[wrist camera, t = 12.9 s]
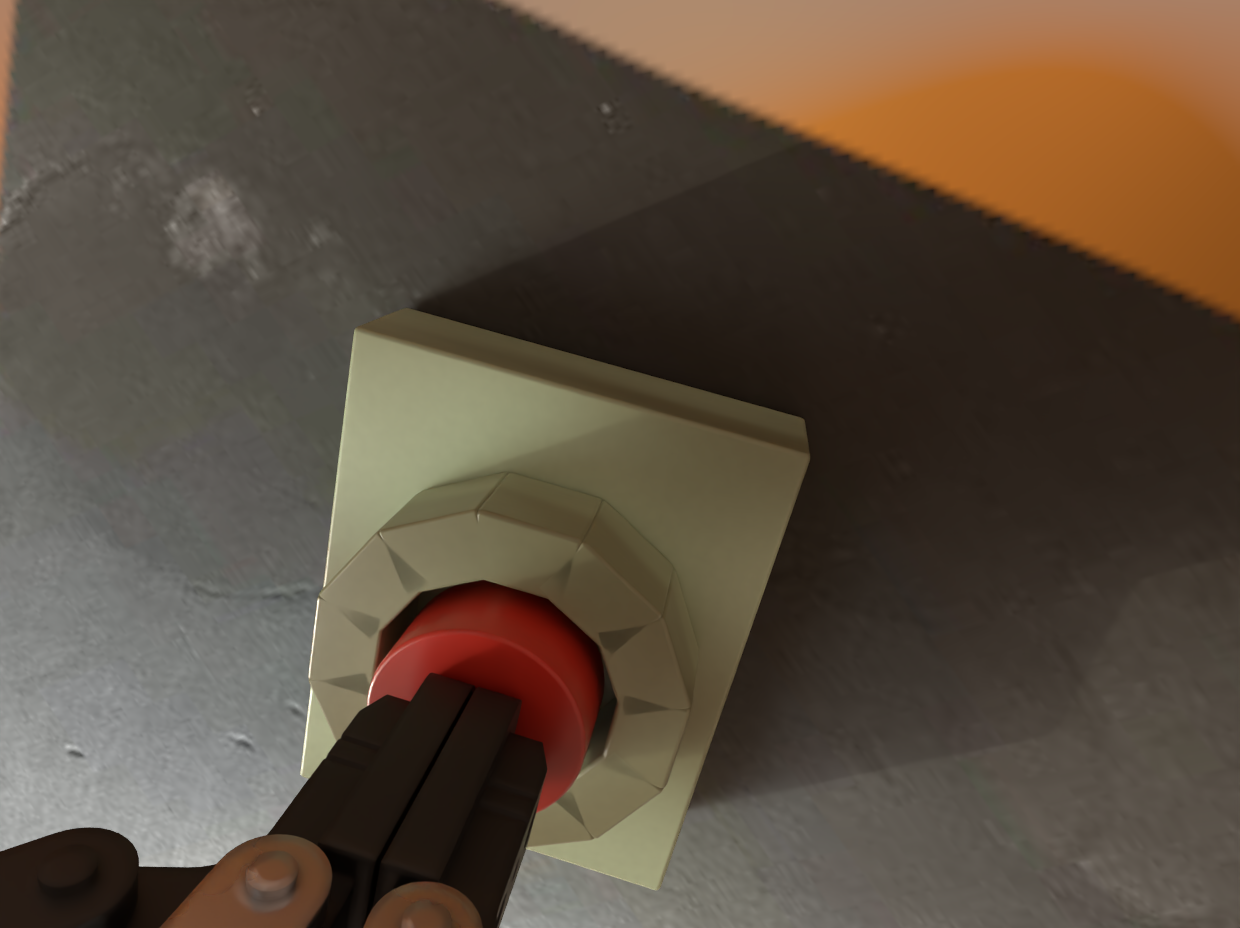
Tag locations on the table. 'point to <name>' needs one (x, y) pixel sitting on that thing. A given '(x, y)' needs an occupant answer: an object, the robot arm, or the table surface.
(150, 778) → the table surface
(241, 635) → the table surface
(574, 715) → the power button
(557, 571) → the button block
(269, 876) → the robot arm
